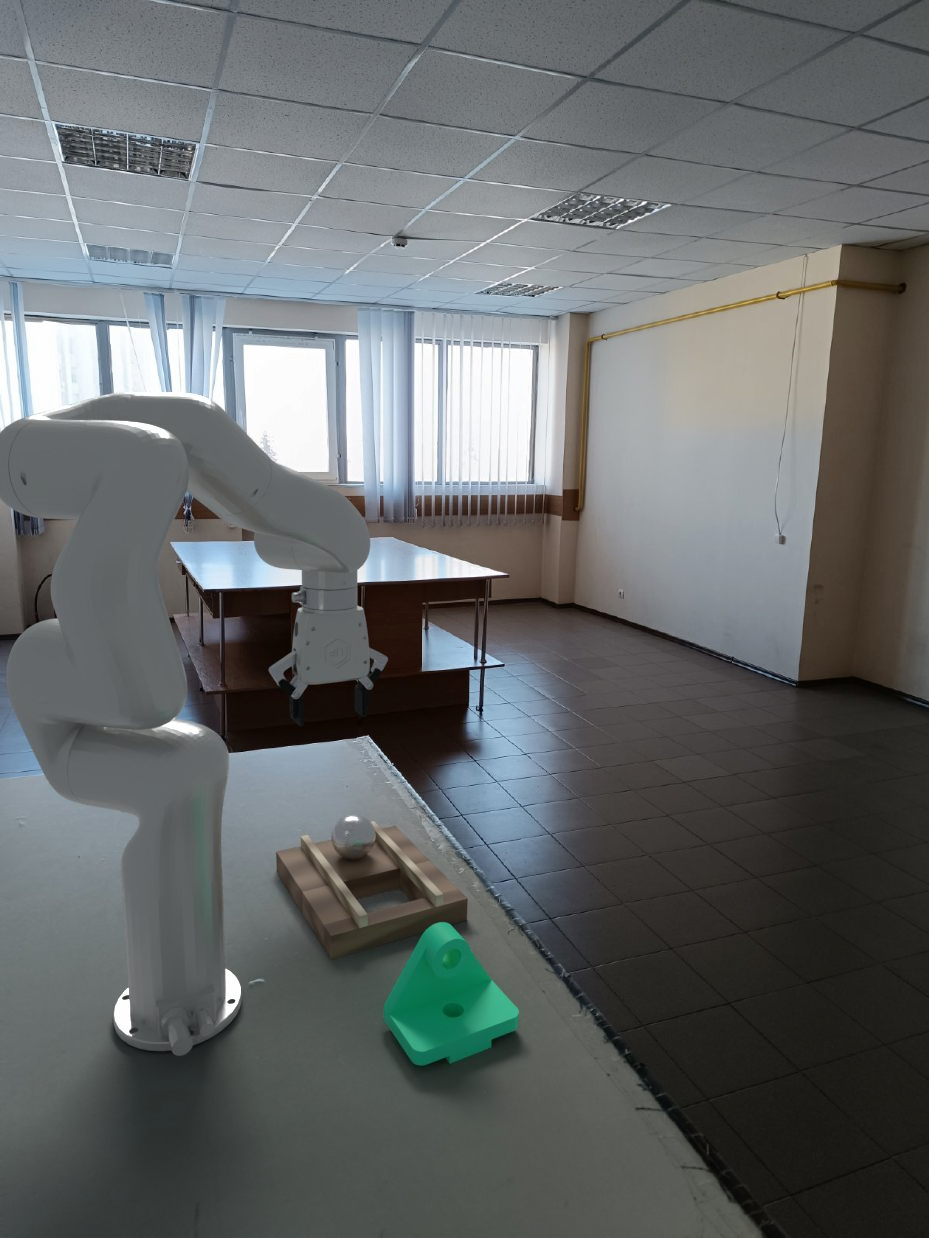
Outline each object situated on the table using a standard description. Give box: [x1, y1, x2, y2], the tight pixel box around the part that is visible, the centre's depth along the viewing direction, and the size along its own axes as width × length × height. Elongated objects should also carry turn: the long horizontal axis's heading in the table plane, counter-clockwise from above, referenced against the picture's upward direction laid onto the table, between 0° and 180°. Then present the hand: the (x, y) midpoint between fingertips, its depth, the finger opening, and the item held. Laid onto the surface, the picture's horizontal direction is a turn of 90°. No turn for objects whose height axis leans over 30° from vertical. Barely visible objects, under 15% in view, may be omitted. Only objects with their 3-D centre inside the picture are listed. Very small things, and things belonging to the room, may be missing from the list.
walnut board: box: [275, 820, 469, 960], centre depth 107 cm, size 22×18×4 cm
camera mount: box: [382, 922, 520, 1066], centre depth 82 cm, size 12×8×10 cm, turn 120°
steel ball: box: [330, 813, 376, 860], centre depth 110 cm, size 6×6×6 cm
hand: (330, 718), depth 115 cm, fingers open, 8 cm apart
